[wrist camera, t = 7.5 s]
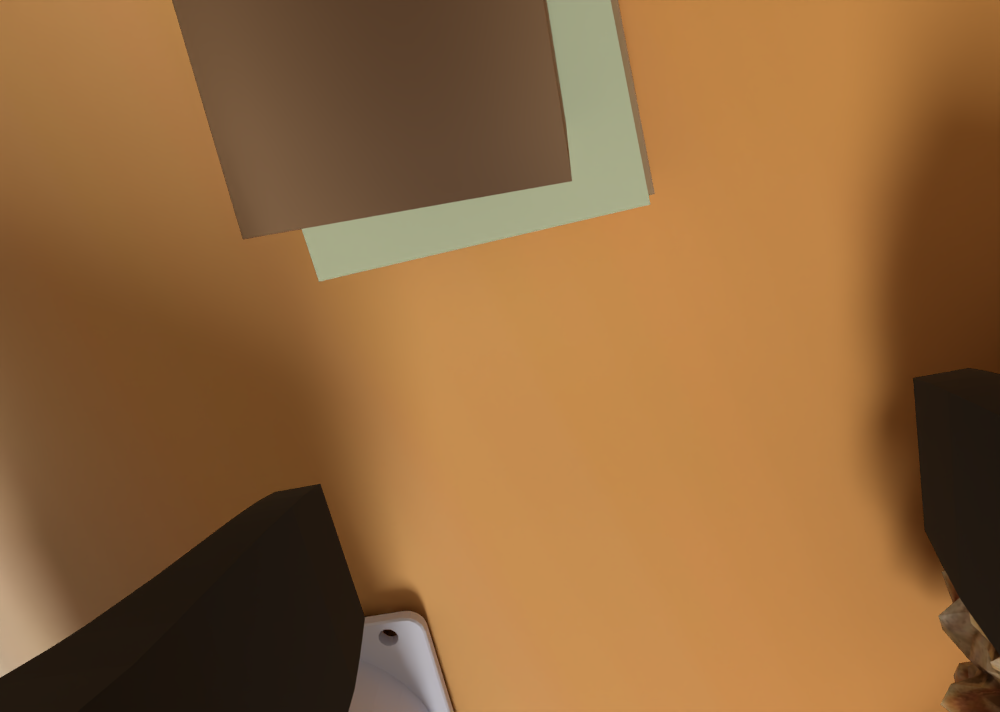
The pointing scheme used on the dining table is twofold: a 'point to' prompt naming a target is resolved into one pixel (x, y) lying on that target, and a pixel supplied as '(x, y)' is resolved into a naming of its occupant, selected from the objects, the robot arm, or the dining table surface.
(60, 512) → the dining table surface
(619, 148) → the slab top
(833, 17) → the dining table surface
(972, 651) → the pine cone
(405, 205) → the walnut block
